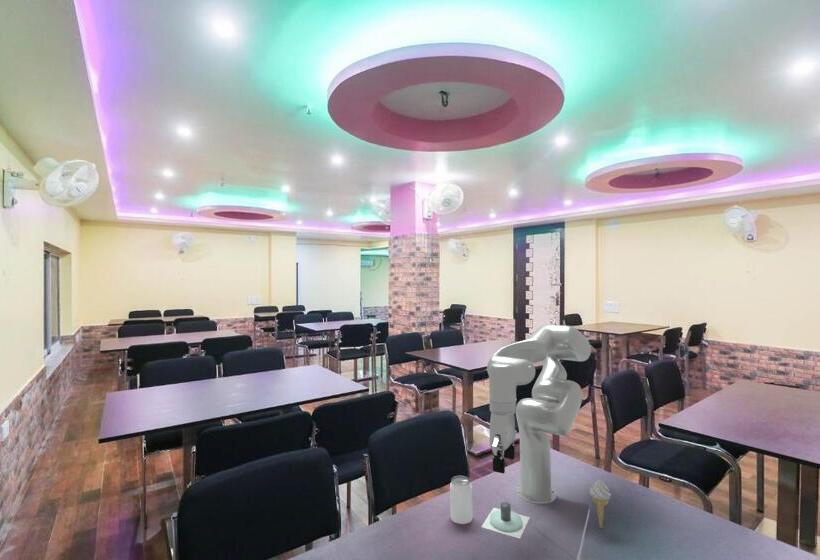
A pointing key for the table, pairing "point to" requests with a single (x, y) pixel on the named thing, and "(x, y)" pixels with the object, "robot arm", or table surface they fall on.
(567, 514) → the table surface
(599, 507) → the ice cream cone
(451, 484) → the can
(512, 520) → the lid
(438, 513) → the table surface
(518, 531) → the mat
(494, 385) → the robot arm
